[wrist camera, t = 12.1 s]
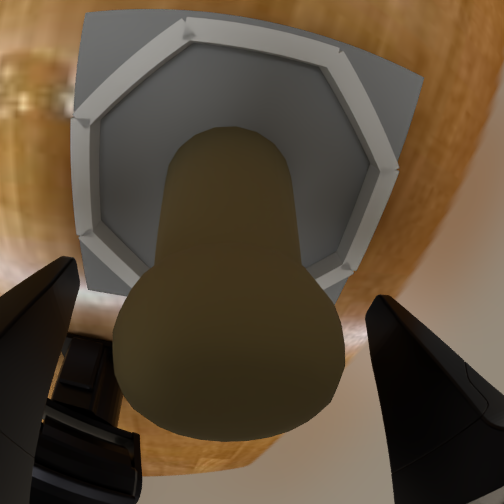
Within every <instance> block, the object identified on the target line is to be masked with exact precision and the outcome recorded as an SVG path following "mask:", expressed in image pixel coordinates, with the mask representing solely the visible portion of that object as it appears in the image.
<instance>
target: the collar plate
mask: <svg viewBox="0 0 504 504" xmlns="http://www.w3.org/2000/svg"><path fill="white" fill-rule="evenodd" d="M423 80H424V77H422V76H420V75H418V74H416V73H414V72H412V71H410V70H408V69H406V68H404V67H401V66H399V65H397V64H395V63H393V62H391V61H388V60H386V59H384V58H382V57H379V56H377V55H374V54H372V53H370V52H367V51H365V50H362V49H359V48H357V47H354V46H351V45H349V44H346V43H343V42H340V41H337V40H334V39H331V38H328V37H325V36H322V35H318V34H315V33H312V32H308V31H305V30H301V29H297V28H293V27H289V26H285V25H281V24H277V23H272V22H267V21H262V20H257V19H252V18H246V17H240V16H234V15H227V14H219V13H211V12H201V11H188V10H169V9H130V10H111V11H99V12H89V13H86V14H85V19H84V24H83V30H82V36H81V42H80V49H79V56H78V64H77V73H76V84H75V97H74V113H73V116H74V117H73V118H71V139H70V141H71V178H72V193H73V206H74V216H75V225H76V233H77V235H79V239H80V246H81V253H82V260H83V266H84V272H85V277H86V283H87V288H88V290H92V291H98V292H104V293H110V294H116V295H122V296H128V294H129V292H130V290H131V289H132V287H133V286H134V285H135V284H136V282H137V281H138V280H139V279H140V277H141V276H142V275H143V274H144V273H145V272H146V271H148V270H149V269H150V268H152V267H153V266H154V261H155V251H156V243H157V234H158V227H159V219H160V212H161V205H162V199H163V192H164V186H165V180H166V175H167V171H168V166H169V163H170V162H171V160H172V158H173V157H174V155H175V153H176V152H177V150H178V149H179V148H180V147H181V146H182V145H183V144H184V143H186V142H187V141H188V140H189V139H190V138H192V137H193V136H194V135H196V134H198V133H201V132H204V131H206V130H209V129H212V128H214V127H233V126H237V127H241V128H244V129H248V130H251V131H255V132H258V133H259V134H261V135H262V136H264V137H265V138H267V139H268V140H270V141H271V142H272V143H274V144H275V145H276V147H277V148H278V149H279V151H280V152H281V153H282V155H283V156H284V158H285V159H286V161H287V165H288V168H289V171H290V175H291V179H292V186H293V194H294V201H295V209H296V217H297V226H298V234H299V243H300V252H301V262H302V266H304V267H305V268H306V269H307V271H308V272H309V273H310V274H311V276H312V277H313V278H314V279H315V280H316V282H317V283H318V284H319V285H320V287H321V288H322V289H323V290H324V292H325V293H326V294H327V295H328V297H329V298H330V299H331V300H332V302H333V303H334V305H335V303H336V301H337V299H338V297H339V295H340V293H341V291H342V289H343V287H344V285H345V283H346V281H347V279H348V277H349V276H350V275H352V274H354V273H353V271H357V268H358V266H359V264H360V262H361V260H362V258H363V256H364V254H365V252H366V249H367V247H368V245H369V243H370V241H371V239H372V236H373V234H374V232H375V230H376V227H377V225H378V223H379V220H380V218H381V216H382V213H383V211H384V209H385V206H386V204H387V201H388V199H389V196H390V194H391V192H392V189H393V186H394V184H395V181H396V179H397V176H398V174H399V171H398V170H397V169H398V168H399V165H398V163H397V161H398V159H399V156H400V153H401V150H402V147H403V144H404V141H405V139H406V136H407V133H408V130H409V127H410V123H411V120H412V117H413V114H414V111H415V108H416V104H417V101H418V98H419V94H420V91H421V87H422V84H423Z"/></svg>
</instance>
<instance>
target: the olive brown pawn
mask: <svg viewBox="0 0 504 504" xmlns="http://www.w3.org/2000/svg"><path fill="white" fill-rule="evenodd" d="M113 363H114V373H115V376H116V379H117V381H118V384H119V386H120V389H121V391H122V393H123V395H124V396H125V398H126V399H127V401H128V402H129V403H130V405H131V406H132V407H133V409H135V410H136V411H137V412H139V413H140V414H141V415H143V416H144V417H146V418H147V419H149V420H150V421H151V422H153V423H154V424H156V425H157V426H159V427H161V428H163V429H166V430H168V431H171V432H173V433H176V434H178V435H182V436H187V437H191V438H195V439H200V440H210V441H221V442H230V441H249V440H256V439H262V438H268V437H272V436H275V435H278V434H282V433H285V432H288V431H290V430H292V429H294V428H296V427H298V426H300V425H302V424H304V423H306V422H308V421H309V420H310V419H312V418H313V417H314V416H316V415H317V414H318V413H319V412H320V411H321V410H322V409H324V408H325V407H326V406H327V405H328V404H329V403H330V402H331V400H332V398H333V396H334V394H335V391H336V389H337V387H338V384H339V382H340V379H341V376H342V373H343V370H344V368H345V344H344V337H343V331H342V326H341V321H340V319H339V316H338V314H337V311H336V308H335V306H334V303H333V302H332V300H331V299H330V298H329V297H328V295H327V294H326V293H325V292H324V290H323V289H322V288H321V287H320V285H319V284H318V283H317V282H316V280H315V279H314V278H313V277H312V276H311V274H310V273H309V272H308V271H307V269H306V268H305V267H304V266H302V262H301V252H300V243H299V234H298V226H297V217H296V209H295V201H294V194H293V186H292V179H291V175H290V171H289V168H288V165H287V161H286V159H285V158H284V156H283V155H282V153H281V152H280V151H279V149H278V148H277V147H276V145H275V144H274V143H272V142H271V141H270V140H268V139H267V138H265V137H264V136H262V135H261V134H259V133H258V132H255V131H251V130H248V129H244V128H241V127H237V126H233V127H214V128H212V129H209V130H206V131H204V132H201V133H198V134H196V135H194V136H193V137H192V138H190V139H189V140H188V141H187V142H186V143H184V144H183V145H182V146H181V147H180V148H179V149H178V150H177V152H176V153H175V155H174V157H173V158H172V160H171V162H170V163H169V166H168V171H167V175H166V180H165V186H164V192H163V199H162V205H161V212H160V219H159V227H158V234H157V243H156V251H155V261H154V266H153V267H152V268H150V269H149V270H148V271H146V272H145V273H144V274H143V275H142V276H141V277H140V279H139V280H138V281H137V282H136V284H135V285H134V286H133V287H132V289H131V290H130V292H129V294H128V296H127V298H126V300H125V302H124V304H123V306H122V308H121V309H120V312H119V314H118V317H117V320H116V323H115V326H114V329H113Z"/></svg>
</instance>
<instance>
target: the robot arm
mask: <svg viewBox="0 0 504 504" xmlns="http://www.w3.org/2000/svg"><path fill="white" fill-rule="evenodd" d="M79 286H80V279H79V274H78V269H77V263H76V260H75V259H74V258H73V257H67V256H61V257H59V258H58V259H56V260H55V261H53V262H51V263H50V264H48V265H47V266H45V267H44V268H42V269H40V270H39V271H37V272H36V273H34V274H33V275H31V276H30V277H28V278H27V279H25V280H24V281H22V282H21V283H19V284H18V285H16V286H15V287H13V288H12V289H11V290H9V291H8V292H6V293H5V294H3V295H2V296H1V297H0V504H136V503H137V502H138V500H139V497H140V494H141V489H142V468H141V453H140V435H139V434H137V433H134V432H132V433H131V432H128V431H125V430H122V429H119V428H117V426H118V420H119V414H120V409H121V403H122V398H123V393H122V391H121V389H120V386H119V384H118V381H117V379H116V376H115V373H114V363H113V343H111V342H106V341H101V340H96V339H91V338H86V337H81V336H77V335H72V334H68V333H67V332H68V328H69V325H70V320H71V316H72V313H73V309H74V305H75V301H76V298H77V294H78V291H79ZM365 321H366V328H367V335H368V342H369V349H370V356H371V362H372V367H373V372H374V377H375V381H376V385H377V391H378V396H379V401H380V406H381V411H382V415H383V422H384V427H385V433H386V439H387V445H388V452H389V459H390V466H391V473H392V483H393V492H394V502H395V504H504V395H503V394H502V393H500V392H499V391H498V390H497V389H495V387H493V386H492V385H491V384H490V383H488V382H487V381H486V380H485V379H484V378H483V377H482V376H481V375H479V374H478V373H477V372H476V371H475V370H474V369H473V368H472V367H471V366H469V364H467V363H466V362H464V360H463V359H462V358H461V357H460V356H459V355H457V354H456V353H455V352H454V351H453V350H452V349H451V348H450V347H449V346H448V345H446V344H445V343H444V342H443V341H442V340H441V339H440V338H439V337H438V336H436V335H435V334H434V333H433V332H432V331H431V330H430V329H428V328H427V327H426V326H425V325H424V324H423V323H421V322H420V321H419V320H418V319H417V318H416V317H414V316H413V315H412V314H411V313H410V312H409V311H407V310H406V309H405V308H404V307H403V306H401V305H400V304H399V303H398V302H397V301H396V300H394V299H393V298H392V297H391V296H389V295H377V296H376V297H375V299H374V301H373V302H372V304H371V306H370V307H369V309H368V311H367V313H366V316H365ZM61 351H62V354H63V356H64V361H63V363H62V366H61V369H60V372H59V375H58V378H57V381H56V384H55V387H54V390H53V394H52V397H51V399H49V398H47V397H48V393H49V390H50V386H51V383H52V379H53V376H54V372H55V369H56V366H57V363H58V359H59V356H60V353H61ZM42 419H43V420H44V422H43V423H42Z"/></svg>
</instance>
